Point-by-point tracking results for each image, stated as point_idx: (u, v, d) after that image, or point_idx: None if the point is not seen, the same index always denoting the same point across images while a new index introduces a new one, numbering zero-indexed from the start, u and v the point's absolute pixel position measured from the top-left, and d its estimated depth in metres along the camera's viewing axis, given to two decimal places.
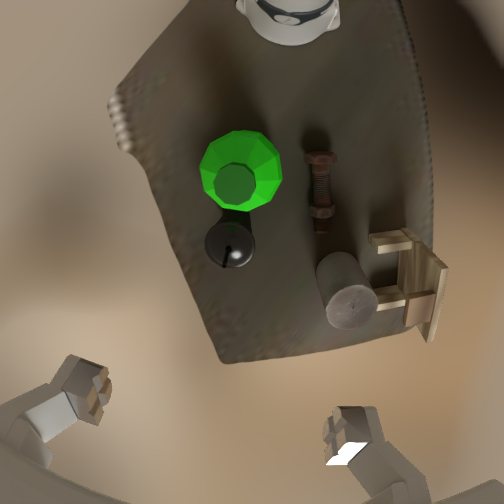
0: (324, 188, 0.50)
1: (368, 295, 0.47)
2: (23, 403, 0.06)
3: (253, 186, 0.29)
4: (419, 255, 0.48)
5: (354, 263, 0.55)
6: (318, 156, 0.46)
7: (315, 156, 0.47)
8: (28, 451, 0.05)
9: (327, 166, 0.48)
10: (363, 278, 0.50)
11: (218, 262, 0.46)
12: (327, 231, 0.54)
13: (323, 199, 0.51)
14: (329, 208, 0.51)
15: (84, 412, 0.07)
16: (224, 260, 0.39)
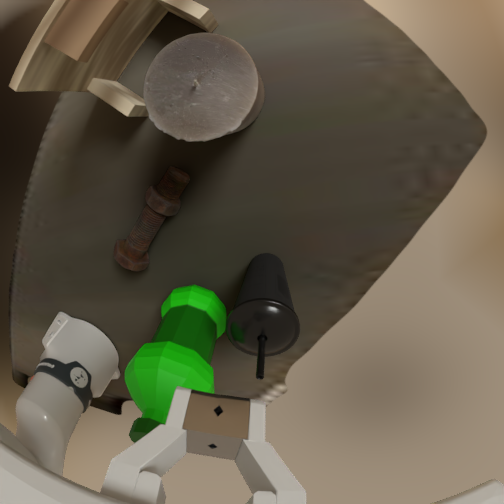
0: (141, 229, 0.37)
1: (154, 91, 0.21)
2: (141, 452, 0.06)
3: (133, 433, 0.22)
4: (74, 78, 0.23)
5: None
6: (127, 268, 0.38)
7: (130, 269, 0.38)
8: None
9: (126, 248, 0.38)
10: None
11: (294, 329, 0.29)
12: (170, 173, 0.34)
13: (150, 217, 0.36)
14: (148, 204, 0.35)
15: (201, 446, 0.08)
16: None
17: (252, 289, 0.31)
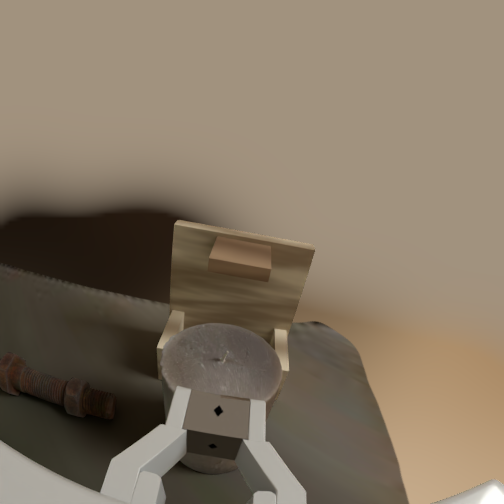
0: (42, 377, 0.24)
1: (198, 332, 0.24)
2: (141, 452, 0.06)
3: None
4: (183, 288, 0.36)
5: None
6: (0, 364, 0.22)
7: None
8: None
9: (19, 365, 0.24)
10: None
11: None
12: (109, 395, 0.26)
13: (57, 385, 0.25)
14: (70, 379, 0.25)
15: (201, 446, 0.08)
16: None
17: None
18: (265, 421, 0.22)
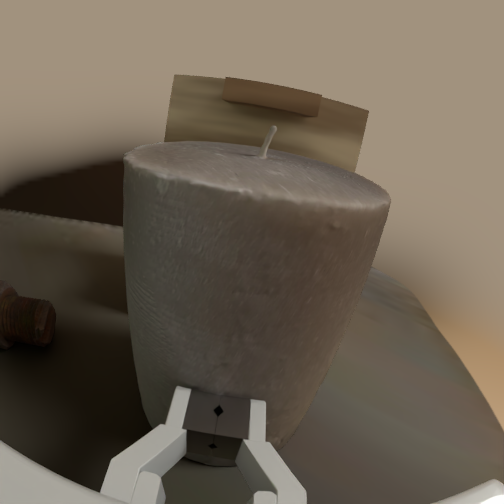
0: None
1: (209, 143, 0.13)
2: (141, 452, 0.06)
3: None
4: None
5: None
6: None
7: None
8: None
9: None
10: None
11: None
12: (43, 301, 0.16)
13: None
14: None
15: (201, 446, 0.08)
16: None
17: None
18: None
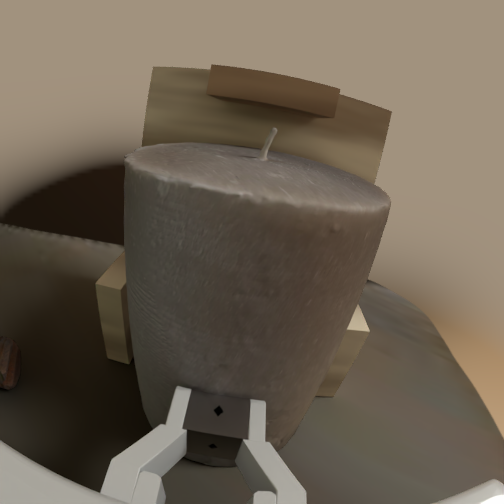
0: None
1: (209, 144, 0.13)
2: (141, 452, 0.06)
3: None
4: None
5: None
6: None
7: None
8: None
9: None
10: None
11: None
12: (4, 339, 0.12)
13: None
14: None
15: (201, 446, 0.08)
16: None
17: None
18: None
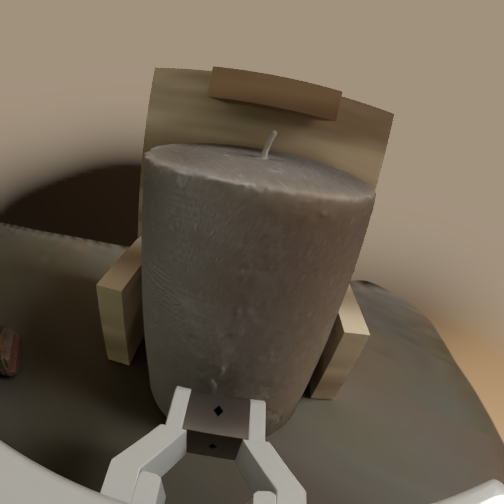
0: None
1: (216, 144, 0.14)
2: (141, 452, 0.06)
3: None
4: None
5: None
6: None
7: None
8: None
9: None
10: None
11: None
12: (6, 328, 0.13)
13: None
14: None
15: (201, 446, 0.08)
16: None
17: None
18: None
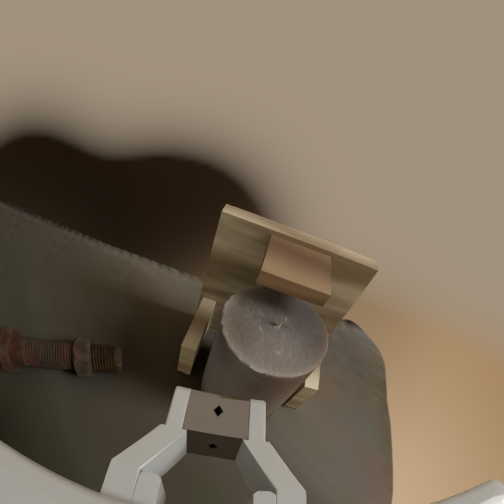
0: (45, 345, 0.25)
1: (257, 294, 0.26)
2: (141, 452, 0.06)
3: None
4: (219, 279, 0.32)
5: None
6: None
7: None
8: None
9: (17, 338, 0.24)
10: None
11: None
12: (116, 347, 0.29)
13: (62, 350, 0.26)
14: (75, 340, 0.27)
15: (201, 446, 0.08)
16: None
17: None
18: None
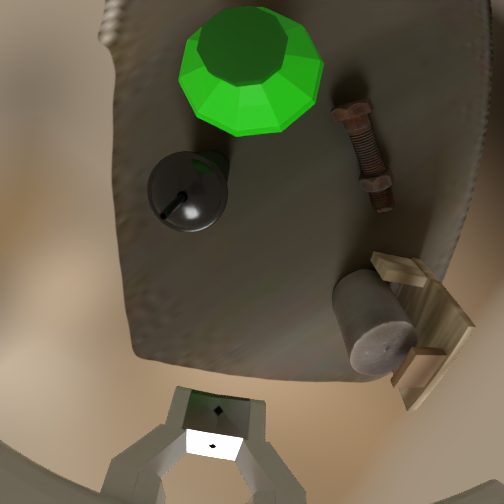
0: (372, 148, 0.32)
1: (410, 338, 0.32)
2: (141, 452, 0.06)
3: (280, 56, 0.11)
4: (434, 299, 0.34)
5: (391, 290, 0.40)
6: (350, 106, 0.30)
7: (346, 107, 0.30)
8: None
9: (365, 117, 0.31)
10: (406, 314, 0.35)
11: None
12: (391, 206, 0.36)
13: (374, 164, 0.34)
14: (386, 174, 0.33)
15: (201, 446, 0.08)
16: (167, 207, 0.21)
17: None
18: None
